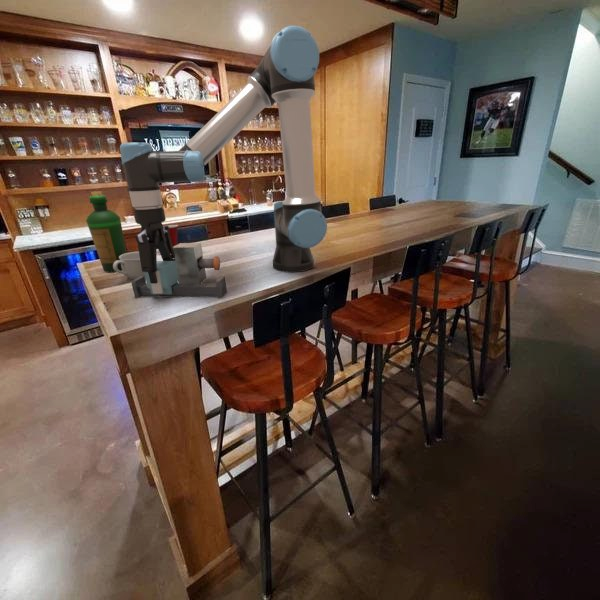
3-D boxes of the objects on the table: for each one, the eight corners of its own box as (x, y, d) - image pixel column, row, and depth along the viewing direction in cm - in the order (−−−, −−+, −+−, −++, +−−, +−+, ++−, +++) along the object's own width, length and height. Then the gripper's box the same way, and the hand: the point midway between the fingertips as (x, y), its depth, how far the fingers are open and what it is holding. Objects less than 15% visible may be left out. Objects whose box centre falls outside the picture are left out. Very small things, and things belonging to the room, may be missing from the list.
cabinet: (206, 278, 107) (201, 242, 103) (199, 284, 102) (193, 247, 97) (186, 278, 108) (180, 243, 103) (178, 284, 103) (171, 247, 98)
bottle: (98, 269, 121) (75, 192, 111) (128, 263, 128) (110, 190, 117) (104, 275, 114) (80, 193, 103) (135, 269, 120) (116, 191, 109)
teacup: (149, 270, 118) (144, 249, 115) (164, 275, 112) (159, 253, 109) (109, 280, 109) (103, 257, 105) (123, 286, 102) (117, 262, 99)
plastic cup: (178, 248, 150) (173, 222, 145) (186, 252, 142) (181, 225, 137) (154, 252, 144) (148, 226, 139) (161, 257, 136) (155, 228, 131)
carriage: (180, 286, 97) (175, 260, 94) (169, 295, 90) (164, 267, 87) (161, 286, 97) (156, 261, 94) (149, 295, 91) (143, 268, 88)
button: (221, 267, 105) (219, 254, 103) (216, 272, 101) (214, 258, 99) (203, 268, 105) (201, 255, 103) (198, 272, 101) (196, 258, 99)
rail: (227, 291, 95) (225, 275, 93) (221, 298, 90) (219, 281, 88) (144, 291, 97) (140, 276, 95) (135, 297, 93) (131, 281, 91)
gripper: (153, 203, 94) (168, 277, 103) (110, 212, 76) (133, 301, 85) (178, 203, 93) (191, 277, 102) (140, 212, 75) (160, 301, 84)
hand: (164, 288), depth 93 cm, fingers closed on carriage, 7 cm apart
